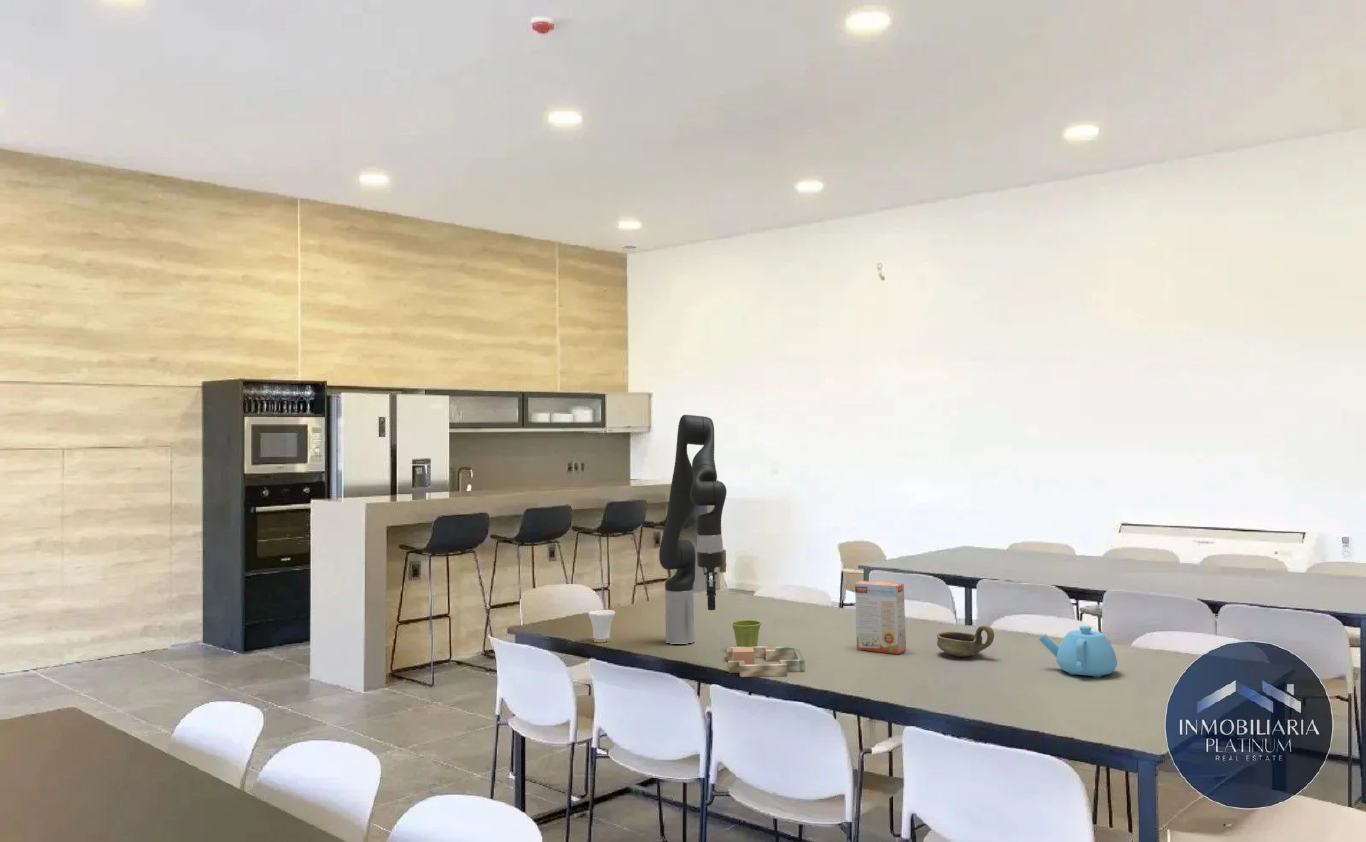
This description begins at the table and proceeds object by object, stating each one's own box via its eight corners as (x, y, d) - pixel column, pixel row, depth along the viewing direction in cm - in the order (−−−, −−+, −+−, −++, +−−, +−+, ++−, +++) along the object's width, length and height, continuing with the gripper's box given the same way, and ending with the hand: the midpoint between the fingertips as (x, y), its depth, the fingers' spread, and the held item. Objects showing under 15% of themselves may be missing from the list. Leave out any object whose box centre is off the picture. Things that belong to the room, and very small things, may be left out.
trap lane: (729, 677, 271) (729, 663, 271) (726, 657, 296) (726, 644, 296) (806, 675, 271) (806, 661, 271) (797, 655, 296) (797, 643, 296)
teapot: (1111, 684, 254) (1109, 635, 255) (1031, 675, 265) (1030, 629, 265) (1122, 668, 271) (1121, 622, 271) (1047, 660, 282) (1046, 616, 282)
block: (733, 669, 281) (733, 652, 281) (732, 664, 287) (732, 647, 287) (754, 669, 281) (754, 651, 281) (753, 664, 287) (752, 647, 287)
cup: (583, 643, 321) (583, 613, 321) (596, 638, 329) (595, 608, 330) (607, 645, 317) (607, 614, 318) (620, 639, 326) (619, 609, 326)
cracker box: (906, 651, 298) (904, 582, 299) (898, 655, 293) (896, 585, 294) (865, 646, 307) (863, 579, 307) (856, 650, 302) (854, 582, 302)
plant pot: (741, 655, 298) (741, 626, 298) (726, 649, 307) (725, 622, 307) (767, 651, 303) (767, 623, 303) (751, 646, 311) (751, 618, 311)
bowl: (949, 648, 301) (948, 616, 301) (1003, 656, 289) (1002, 622, 289) (927, 656, 291) (926, 623, 291) (982, 665, 279) (981, 630, 279)
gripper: (697, 548, 291) (698, 606, 291) (697, 553, 278) (698, 614, 278) (722, 547, 291) (723, 605, 291) (723, 552, 278) (725, 613, 278)
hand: (711, 609), depth 284 cm, fingers closed
